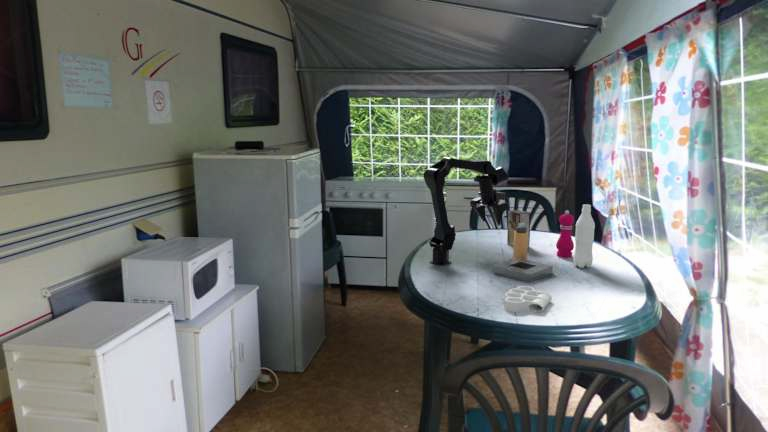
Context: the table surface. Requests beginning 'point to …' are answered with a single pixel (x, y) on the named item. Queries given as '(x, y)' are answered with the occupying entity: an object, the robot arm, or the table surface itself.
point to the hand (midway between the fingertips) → (491, 222)
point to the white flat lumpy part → (525, 299)
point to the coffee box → (514, 220)
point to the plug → (520, 242)
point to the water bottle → (584, 238)
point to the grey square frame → (522, 269)
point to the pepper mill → (565, 236)
